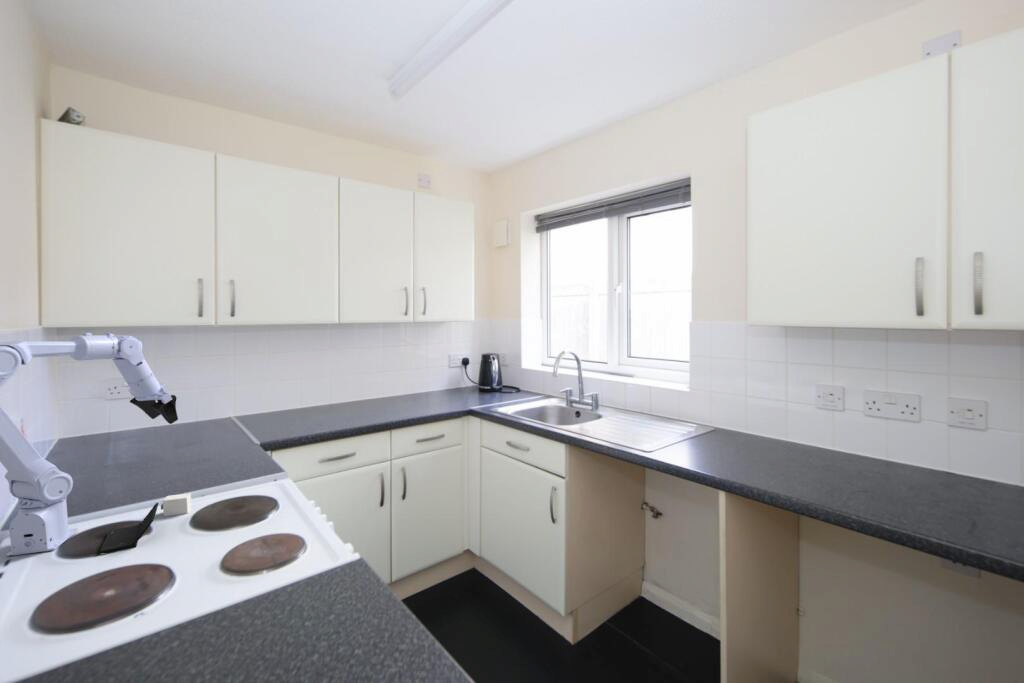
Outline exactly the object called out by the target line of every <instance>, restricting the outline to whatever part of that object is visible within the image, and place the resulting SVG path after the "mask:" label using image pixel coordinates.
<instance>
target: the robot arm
mask: <svg viewBox="0 0 1024 683" xmlns="http://www.w3.org/2000/svg"><path fill="white" fill-rule="evenodd" d="M58 356H60V357H61V356H63V357H64V356H69V357H71V358H72V359H73V360H75V361H93V360H94V361H95V360H97V361H98V360H99V361H100V360H109V359H110V360H112V362H113V363H114V365H115V366H116V369H118V372H120V374H121V376H122V378H123V379H124V380H125V383H126V384H127V385H128V387H129V388H128V390H127V391H129V393H130V395H131V396H133V398H132V399H130V400H129V403H131V404H132V405H135V406H136V407H138V408H139V409H140V410H141V411H143V413H145V414H146V415H147V416H148V417H149V418H151V419H152V420H154V419H157V417H159V416H162V418H163V419H164V420H165V421H166V422H167V423H168V424H170V425H172V424H173V423H175V422H177V421H178V420H179V418H178V413H177V409H176V408H177V407H176V406H177V404H176V403H177V396H176V395H175V394H170V393H169V392H167V391H166V389H164V388H165V387H166V384H165V382H159V381H158V379H157V378H156V376H155V374H154V373H153V371H152V369H151V367H150V366H149V364H148V362H147V361H146V359H145V355H144V354H143V343H142V340H139V339H137V337H134V336H132V335H126V334H125V335H123V334H122V335H121V334H120V335H119V334H115V335H114V333H105V335H104V334H103V335H99V334H98V335H94V334H92V333H91V332H81V335H79V334H78V335H75V336H74V337H72V338H70V339H69V341H63V340H62V341H59V340H58V341H53V340H52V341H50V340H49V341H44V340H41V341H39V340H38V341H36V340H35V341H33V340H31V341H29V340H28V341H27V340H13V341H12V340H11V341H0V389H1V388H2V387H3V386H4V385H5V384H7V382H8V381H9V380H11V378H12V377H13V376H14V375H15V374H17V373H18V372H19V370H20V369H21V366H22V365H23V366H24V365H25V366H26V365H28V364H29V363H30V362H31V360H32V359H33V358H46V357H47V358H48V357H58ZM0 463H1V464H2V466H3V467H4V468H5V469H6V471H7V472H6V473H5V474H4V478H5V479H6V480H7V482H8V488H9V493H10V494H11V495H12V496H13V497H14V498H17V499H18V500H17V502H18V512H17V514H16V516H15V517H14V518H13V519H12V520H11V522H10V524H9V537H10V539H9V540H10V547H11V549H10V551H8V552H7V553H6V555H5V556H7V557H10V555H12V556H17V555H18V556H19V555H26V554H33V553H40V552H48V551H54V550H56V549H57V548H58V547H59V546H60V545H62V544H63V543H64V542H65V541H67V540H68V539H70V537H71V536H73V535H74V534H75V533H77V532H78V531H79V528H78V527H77V528H69V517H68V516H69V515H68V507H67V506H68V505H67V498H68V497H67V496H68V495H69V494H70V493H71V491H72V489H73V485H74V481H73V478H72V476H71V475H70V474H69V473H67V472H63V471H61V470H60V469H59V468H58V467H57V466H56V465H55V464H53V463H52V462H50V461H48V460H46V459H45V458H43V457H42V456H41V454H40V453H39V452H38V451H37V450H36V448H35V447H34V446H33V445H32V443H31V442H30V441H29V439H28V438H27V437H26V435H25V434H24V433H23V432H22V430H20V428H19V427H18V426H17V424H16V422H14V420H12V418H11V416H10V415H9V414H8V413H7V412H6V410H5V409H4V408H3V407H2V406H1V404H0Z"/></svg>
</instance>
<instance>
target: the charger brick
mask: <svg viewBox="0 0 1024 683" xmlns="http://www.w3.org/2000/svg"><path fill="white" fill-rule="evenodd" d="M192 508H193V507H192V493H191V492H190V493H183V494H173V495H172V494H171V495H167V496H166V497H164V499H163V500H162V504H161V505H160V510H163V517H168V516H169V517H170V516H177V515H187V514H189V512H190V511H191V510H192Z"/></svg>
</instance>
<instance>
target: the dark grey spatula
mask: <svg viewBox="0 0 1024 683" xmlns="http://www.w3.org/2000/svg"><path fill="white" fill-rule="evenodd" d="M159 505H160V504H159V502H156V503H154V505H153V507H152V508H151V509H150V510H149V512H148V513H147V514H146V515H145V517H144V518H143V520H141V522H139V523H138V524H136V525H130V526H125V527H119V528H115V529H110V530H109V531H108V533H107V535H106V537H105V538H104V542H103V543H102V545H101V548H100V550H99V554H100V553H107V554H110V553H111V554H112V553H115V552H116V553H117V552H121V551H125V550H129V549H134V548H137V546H138V542H139V541H140V539H141V538H142V537H143V536H144V534H145V532H146V531H147V530H148V529H149V527H150V526H151V525H152V524H153V522H154V520H155V517H156V513H157V510H158V506H159Z"/></svg>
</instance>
